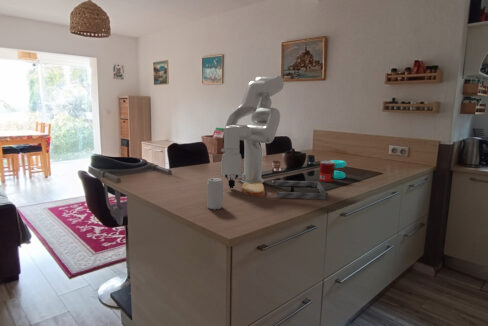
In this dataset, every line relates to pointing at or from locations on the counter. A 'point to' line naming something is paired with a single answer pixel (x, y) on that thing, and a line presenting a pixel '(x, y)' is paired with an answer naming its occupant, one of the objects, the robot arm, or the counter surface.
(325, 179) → the canned food
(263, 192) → the bread slice
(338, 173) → the donuts
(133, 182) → the counter surface
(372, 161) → the counter surface
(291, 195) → the corral
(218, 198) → the beverage can
